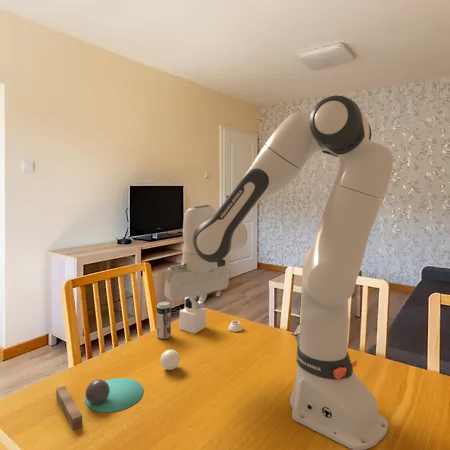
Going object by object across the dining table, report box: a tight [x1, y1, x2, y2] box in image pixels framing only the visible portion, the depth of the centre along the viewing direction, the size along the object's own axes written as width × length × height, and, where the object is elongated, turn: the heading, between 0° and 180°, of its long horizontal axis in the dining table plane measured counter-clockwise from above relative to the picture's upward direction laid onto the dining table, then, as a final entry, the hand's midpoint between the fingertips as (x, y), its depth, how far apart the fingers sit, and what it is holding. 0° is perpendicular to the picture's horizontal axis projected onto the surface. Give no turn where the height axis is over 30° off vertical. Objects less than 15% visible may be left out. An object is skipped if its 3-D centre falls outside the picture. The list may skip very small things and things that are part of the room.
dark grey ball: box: [85, 379, 110, 405], centre depth 85 cm, size 6×6×6 cm
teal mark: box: [84, 377, 144, 413], centre depth 88 cm, size 14×14×1 cm
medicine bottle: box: [179, 295, 207, 335], centre depth 128 cm, size 7×7×12 cm
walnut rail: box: [55, 385, 83, 431], centre depth 81 cm, size 14×2×2 cm, turn 39°
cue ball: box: [160, 349, 181, 371], centre depth 101 cm, size 6×6×6 cm
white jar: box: [227, 320, 243, 333], centre depth 129 cm, size 5×3×5 cm
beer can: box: [156, 301, 172, 340], centre depth 121 cm, size 5×5×12 cm
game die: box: [291, 321, 300, 346], centre depth 116 cm, size 9×8×10 cm
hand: (197, 308), depth 102 cm, fingers closed
